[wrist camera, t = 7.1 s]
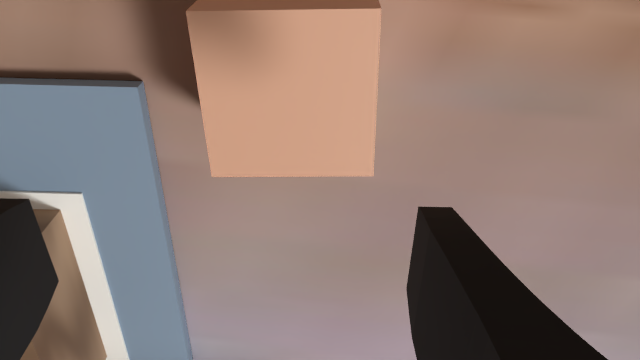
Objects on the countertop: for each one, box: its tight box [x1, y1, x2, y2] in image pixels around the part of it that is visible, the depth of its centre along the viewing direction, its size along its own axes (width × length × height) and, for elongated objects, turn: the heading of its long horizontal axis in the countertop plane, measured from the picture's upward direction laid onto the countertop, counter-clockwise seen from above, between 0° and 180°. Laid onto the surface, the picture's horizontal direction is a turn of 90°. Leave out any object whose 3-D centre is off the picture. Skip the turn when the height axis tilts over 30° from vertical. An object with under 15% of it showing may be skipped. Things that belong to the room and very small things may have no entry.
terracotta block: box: [186, 0, 381, 177], centre depth 16 cm, size 5×5×4 cm
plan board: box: [0, 78, 193, 360], centre depth 23 cm, size 20×13×1 cm, turn 179°
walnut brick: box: [20, 209, 107, 360], centre depth 21 cm, size 9×5×4 cm, turn 179°
